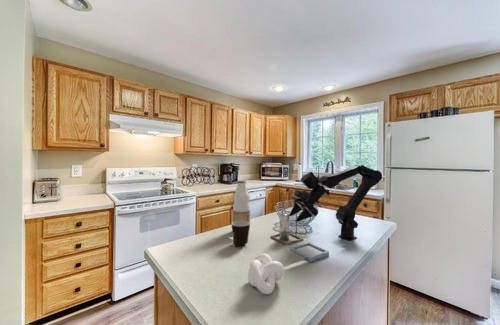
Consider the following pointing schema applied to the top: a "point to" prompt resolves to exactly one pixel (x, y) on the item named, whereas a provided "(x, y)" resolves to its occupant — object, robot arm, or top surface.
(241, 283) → the top surface
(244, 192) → the fruit juice
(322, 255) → the grey tray
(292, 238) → the walnut tray
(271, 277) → the white knot sculpture
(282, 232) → the scoop cup
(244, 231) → the coffee mug
